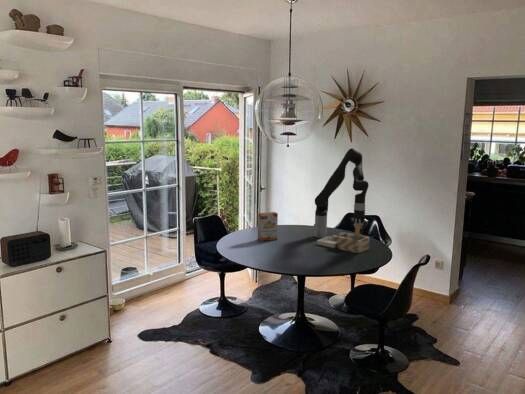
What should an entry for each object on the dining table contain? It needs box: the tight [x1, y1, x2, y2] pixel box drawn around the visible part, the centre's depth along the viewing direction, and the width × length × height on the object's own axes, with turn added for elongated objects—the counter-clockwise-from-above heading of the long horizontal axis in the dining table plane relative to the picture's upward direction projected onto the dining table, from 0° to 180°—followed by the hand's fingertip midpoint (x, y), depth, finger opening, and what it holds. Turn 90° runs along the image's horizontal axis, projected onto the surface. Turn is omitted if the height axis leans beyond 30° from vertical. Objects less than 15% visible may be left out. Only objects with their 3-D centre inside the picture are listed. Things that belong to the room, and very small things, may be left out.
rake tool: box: [352, 223, 364, 240], centre depth 315 cm, size 4×8×10 cm, turn 141°
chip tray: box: [316, 235, 338, 249], centre depth 331 cm, size 15×16×3 cm
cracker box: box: [257, 211, 279, 242], centre depth 339 cm, size 14×6×21 cm, turn 112°
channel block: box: [331, 232, 371, 254], centre depth 321 cm, size 22×15×8 cm
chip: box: [338, 231, 348, 238], centre depth 324 cm, size 4×4×4 cm
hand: (358, 233), depth 316 cm, fingers closed on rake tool, 3 cm apart
